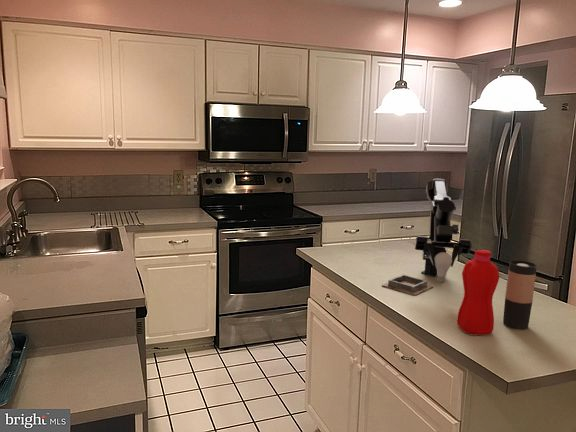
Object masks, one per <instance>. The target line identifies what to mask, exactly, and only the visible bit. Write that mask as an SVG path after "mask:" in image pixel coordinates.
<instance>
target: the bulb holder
mask: <svg viewBox="0 0 576 432" xmlns="http://www.w3.org/2000/svg"><path fill="white" fill-rule="evenodd" d="M381 287H383V288H387V289H389V290H393V291H397V292H400V293H403V294H407V295H410V296H414V297H415V296H418V295H420V294H423V293H424V292H426V291H428V290H431V289H432V288H434V286H433V285H431V284H428V280H425V279H421V278H417V277H413V276H410V275H405V274H401V275H398V276H395V277H393V278H390V279H389V280H388V281H387V282H386V283H383V284H382V285H381Z"/></svg>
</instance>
